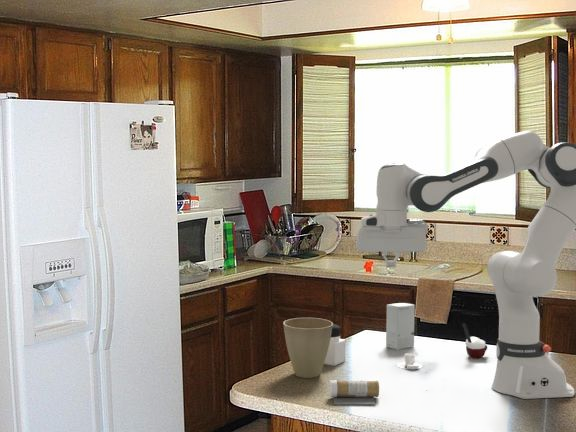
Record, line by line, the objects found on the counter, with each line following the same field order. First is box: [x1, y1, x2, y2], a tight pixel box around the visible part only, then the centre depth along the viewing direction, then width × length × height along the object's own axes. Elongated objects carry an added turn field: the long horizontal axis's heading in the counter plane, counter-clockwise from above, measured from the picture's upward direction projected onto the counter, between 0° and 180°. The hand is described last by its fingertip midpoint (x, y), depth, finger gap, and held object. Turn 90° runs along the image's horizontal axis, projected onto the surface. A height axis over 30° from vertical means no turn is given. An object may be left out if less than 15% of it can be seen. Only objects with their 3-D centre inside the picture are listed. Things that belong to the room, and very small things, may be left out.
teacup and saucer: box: [396, 352, 423, 370], centre depth 264 cm, size 9×8×4 cm
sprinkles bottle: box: [328, 379, 380, 398], centre depth 231 cm, size 5×5×14 cm
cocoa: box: [461, 322, 488, 360], centre depth 274 cm, size 10×6×12 cm, turn 94°
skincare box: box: [385, 302, 416, 351], centre depth 288 cm, size 8×6×15 cm
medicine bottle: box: [323, 323, 347, 367], centre depth 268 cm, size 7×7×12 cm
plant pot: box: [282, 317, 334, 379], centre depth 254 cm, size 15×15×16 cm
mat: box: [333, 397, 376, 407], centre depth 233 cm, size 11×17×1 cm, turn 178°
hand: (390, 267), depth 243 cm, fingers closed
